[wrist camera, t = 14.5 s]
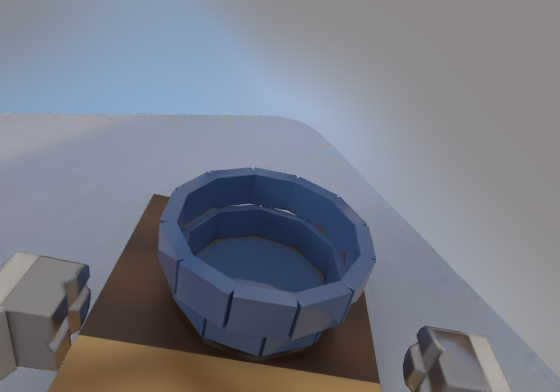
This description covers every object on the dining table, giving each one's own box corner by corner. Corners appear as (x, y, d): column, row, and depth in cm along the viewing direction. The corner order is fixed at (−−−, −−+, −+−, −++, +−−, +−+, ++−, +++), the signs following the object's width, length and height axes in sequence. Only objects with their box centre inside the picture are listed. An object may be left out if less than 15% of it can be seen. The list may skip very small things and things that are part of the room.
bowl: (114, 294, 27) (113, 220, 24) (236, 210, 37) (247, 150, 34) (286, 420, 23) (314, 350, 19) (373, 286, 33) (400, 225, 30)
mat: (377, 387, 26) (380, 383, 26) (78, 338, 25) (78, 334, 24) (352, 235, 39) (353, 231, 38) (153, 197, 37) (153, 193, 37)
